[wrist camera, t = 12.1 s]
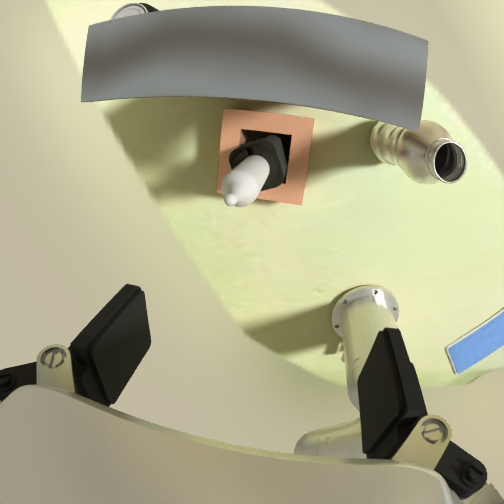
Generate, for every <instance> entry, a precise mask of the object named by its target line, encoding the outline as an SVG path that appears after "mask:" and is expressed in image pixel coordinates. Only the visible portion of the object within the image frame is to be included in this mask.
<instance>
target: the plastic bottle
mask: <svg viewBox="0 0 504 504" xmlns="http://www.w3.org/2000/svg"><path fill="white" fill-rule="evenodd" d="M370 144H371V148H372V150H373V152H374V154H375V155H376V157H377V158H378V159H379V160H380V161H382V162H383V163H386V164H389V165H398V166H400V167H401V169H402V170H403V171H404V172H405V173H406V174H407V175H408V176H409V177H410V178H411V179H412V180H414V181H416V182H418V183H421V184H434V183H437V182H440V181H442V182H444V183H455V182H457V181H458V180H460V179H461V178H462V176H463V175H464V173H465V170H466V167H467V158H466V154H465V151H464V149H463V148H462V147H461V146H460V145H459V144H458V143H456V142H454V141H453V140H452V138H451V136H450V134H449V133H448V132H447V131H446V130H445V129H444V128H443V127H442V126H441V125H439V124H437V123H435V122H433V121H428V120H423V121H420V128H419V131H414V130H410V129H406V128H403V127H399V126H395V125H392V124H388V123H384V122H378V123H377V124H376V125H375V126H374V128H373V130H372V132H371V135H370Z"/></svg>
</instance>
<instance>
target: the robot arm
mask: <svg viewBox="0 0 504 504" xmlns="http://www.w3.org/2000/svg"><path fill="white" fill-rule="evenodd" d="M398 316H399V306H398V303H397V300H396V298H395V296H394V295H393V294H392V293H391V292H390V291H388V290H387V289H385V288H383V287H380V286H375V285H366V286H360V287H357V288H354V289H352V290H350V291H348V292H347V293H345V294H344V295H343V296H342V297H341V298H340V299H339V300H338V301H337V302H336V304H335V305H334V308H333V310H332V315H331V320H332V326H333V329H334V331H335V332H336V333H337V335H338V336H340V337H341V338H342V340H343V349H344V353H343V355H342V357H341V360H342V361H343V362H344V363H345V368H346V378H347V390H348V395H349V398H350V400H351V402H352V404H353V405H354V406H355V407H356V408H357V409H358V410H359V411H360V418H357V419H355V420H352V421H349V422H345V423H341V424H338V425H334V426H330V427H326V428H322V429H318V430H315V431H312V432H309V433H307V434H305V435H303V436H302V437H301V438H300V439H299V440H298V442H297V444H296V447H295V450H294V454H289V453H281V452H274V451H267V450H261V449H255V448H249V447H244V446H238V445H233V444H229V443H224V442H219V441H215V440H210V439H207V438H202V437H199V436H195V435H191V434H187V433H184V432H180V431H177V430H173V429H169V428H167V427H163V426H160V425H157V424H154V423H151V422H148V421H145V420H142V419H139V418H136V417H134V416H131V415H128V414H126V413H123V412H120V411H117V410H115V409H112V408H110V407H109V406H110V405H111V404H114V403H115V402H116V401H117V399H118V397H119V396H120V394H121V392H122V391H123V389H124V388H125V386H126V384H127V383H128V381H129V379H130V378H131V376H132V375H133V373H134V371H135V370H136V368H137V367H138V365H139V363H140V362H141V360H142V359H143V357H144V356H145V354H146V353H147V351H148V349H149V348H150V345H151V336H150V330H149V323H148V316H147V310H146V301H145V294H144V291H141V288H140V287H139V286H135V285H130V284H126V285H125V286H124V287H123V288H122V289H121V290H120V291H119V292H118V293H117V294H116V295H115V296H114V297H113V298H112V299H111V300H110V301H109V302H108V303H107V304H106V305H105V307H104V308H103V309H102V310H101V311H100V312H99V313H98V314H97V315H96V316H95V317H94V318H93V319H92V320H91V321H90V323H89V324H88V325H87V326H86V327H85V328H84V329H83V330H82V331H81V332H80V334H79V335H78V336H77V337H76V338H75V339H74V340H73V341H72V342H71V345H70V347H69V348H68V349H67V348H66V347H65V346H63V345H59V344H56V345H50V346H47V347H46V348H44V349H43V350H42V351H41V352H40V353H39V355H38V357H37V362H33V363H29V364H24V365H20V366H15V367H10V368H5V369H3V370H0V504H504V499H503V498H502V497H501V496H500V494H499V493H498V491H497V490H496V489H495V488H494V486H493V485H492V484H491V483H490V484H489V485H488V484H487V483H486V480H487V471H486V468H485V466H484V465H483V464H482V463H481V462H480V461H479V460H477V459H476V458H474V457H473V456H471V455H470V454H468V453H467V452H466V451H464V450H463V449H461V448H460V447H459V446H457V445H456V444H455V443H453V442H452V441H450V439H451V428H450V426H449V424H448V423H447V421H446V420H444V419H443V418H441V417H439V416H436V415H428V414H427V410H426V406H425V403H424V399H423V395H422V391H421V388H420V384H419V381H418V378H417V374H416V371H415V368H414V365H413V364H412V363H411V362H410V360H409V357H408V354H407V351H406V347H405V344H404V341H403V338H402V335H401V332H400V330H399V329H398V328H397V325H396V322H397V319H398Z"/></svg>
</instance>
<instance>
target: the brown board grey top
mask: <svg viewBox="0 0 504 504" xmlns="http://www.w3.org/2000/svg"><path fill="white" fill-rule="evenodd" d="M427 56H428V41H427V40H424V39H422V38H419V37H416V36H413V35H410V34H407V33H404V32H401V31H398V30H395V29H392V28H388V27H385V26H381V25H377V24H374V23H370V22H366V21H361V20H357V19H353V18H348V17H343V16H338V15H332V14H326V13H320V12H314V11H306V10H298V9H289V8H277V7H261V6H208V7H192V8H181V9H171V10H163V11H156V12H149V13H143V14H138V15H132V16H127V17H122V18H118V19H113V20H109V21H105V22H101V23H97V24H93V25H89V28H88V35H87V42H86V49H85V57H84V67H83V78H82V92H81V93H82V94H81V102H94V101H103V100H115V99H128V98H147V97H212V98H231V99H245V100H257V101H267V102H276V103H284V104H291V105H299V106H305V107H312V108H318V109H324V110H329V111H334V112H340V113H345V114H350V115H354V116H359V117H363V118H368V119H372V120H376V121H380V122H384V123H388V124H392V125H395V126H399V127H403V128H406V129H410V130H414V131H419V128H420V121H421V114H422V107H423V99H424V91H425V81H426V69H427Z"/></svg>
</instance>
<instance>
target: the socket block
mask: <svg viewBox="0 0 504 504" xmlns="http://www.w3.org/2000/svg"><path fill="white" fill-rule="evenodd" d="M313 126H314V119H312V118H306V117H299V116H292V115H285V114H277V113H268V112H259V111H249V110H237V109H223V117H222V128H221V140H220V152H219V165H218V180H217V193H220V194H222V192H221V184H222V181H223V179H224V177H225V176H226V175H227V174H228V173H229V172H230V171H231V170H232V169H231V166H230V163H229V155H230V153H231V152H232V151H233V150H234V149H236V148H238V147H240V146H242V145H244V144H245V143H246V135H247V130H256V131H265V132H273V133H281V134H288V135H292V139H291V147H290V154H289V162H288V169H287V176H285V177H284V180H283V183H282V184H281V185H280V186H278V187H276V188H272V189H268V190H264V191H260V192H259V194H258V196H257V199H264V200H271V201H278V202H284V203H291V204H297V205H302V200H303V194H304V188H305V181H306V175H307V168H308V161H309V155H310V148H311V141H312V133H313Z"/></svg>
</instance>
